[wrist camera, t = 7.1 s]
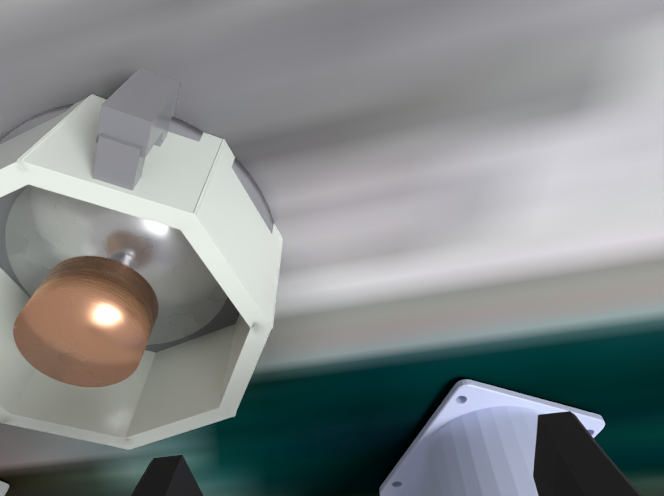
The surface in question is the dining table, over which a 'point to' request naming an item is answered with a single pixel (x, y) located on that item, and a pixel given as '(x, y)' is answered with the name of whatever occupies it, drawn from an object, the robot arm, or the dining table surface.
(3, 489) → the supplement box
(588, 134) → the dining table surface
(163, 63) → the dining table surface
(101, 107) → the octagonal hollow frame
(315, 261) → the dining table surface
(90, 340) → the copper-knobbed silver dome
